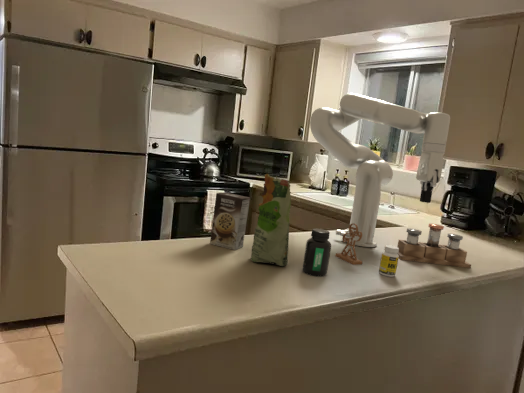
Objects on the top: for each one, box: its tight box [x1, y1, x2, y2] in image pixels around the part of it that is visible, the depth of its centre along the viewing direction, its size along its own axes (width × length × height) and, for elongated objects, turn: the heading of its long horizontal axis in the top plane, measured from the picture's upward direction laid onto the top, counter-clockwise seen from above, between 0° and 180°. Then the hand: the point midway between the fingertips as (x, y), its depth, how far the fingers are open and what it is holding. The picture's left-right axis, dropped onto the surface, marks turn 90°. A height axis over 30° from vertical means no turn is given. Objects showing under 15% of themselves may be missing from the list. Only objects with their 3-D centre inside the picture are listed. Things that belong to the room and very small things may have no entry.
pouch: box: [250, 173, 292, 267], centre depth 124 cm, size 11×12×25 cm
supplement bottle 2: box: [378, 244, 399, 278], centre depth 129 cm, size 5×5×8 cm
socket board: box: [396, 239, 472, 269], centre depth 156 cm, size 25×10×5 cm, turn 93°
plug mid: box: [426, 223, 445, 248], centre depth 155 cm, size 5×5×8 cm
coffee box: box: [209, 191, 251, 251], centre depth 137 cm, size 9×6×16 cm
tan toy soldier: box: [334, 223, 363, 266], centre depth 139 cm, size 9×4×12 cm, turn 30°
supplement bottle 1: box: [302, 228, 332, 277], centre depth 121 cm, size 7×7×12 cm
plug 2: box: [446, 233, 464, 250], centre depth 156 cm, size 5×5×8 cm
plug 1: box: [405, 227, 422, 245], centre depth 155 cm, size 5×5×8 cm
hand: (424, 202), depth 153 cm, fingers closed
